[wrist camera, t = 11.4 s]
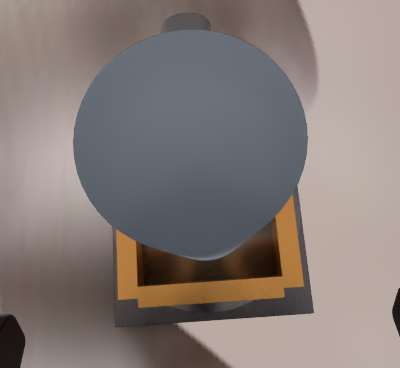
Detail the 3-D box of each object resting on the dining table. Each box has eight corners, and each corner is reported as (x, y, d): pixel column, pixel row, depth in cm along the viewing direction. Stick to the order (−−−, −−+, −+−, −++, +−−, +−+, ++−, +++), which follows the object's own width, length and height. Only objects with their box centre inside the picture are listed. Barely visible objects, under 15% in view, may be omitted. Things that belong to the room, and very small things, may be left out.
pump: (254, 257, 18) (323, 243, 7) (162, 264, 18) (72, 261, 7) (242, 136, 20) (281, -52, 8) (157, 143, 20) (73, -33, 8)
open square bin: (309, 311, 22) (340, 326, 16) (119, 324, 22) (88, 343, 16) (286, 130, 24) (306, 91, 19) (115, 144, 24) (86, 109, 19)
